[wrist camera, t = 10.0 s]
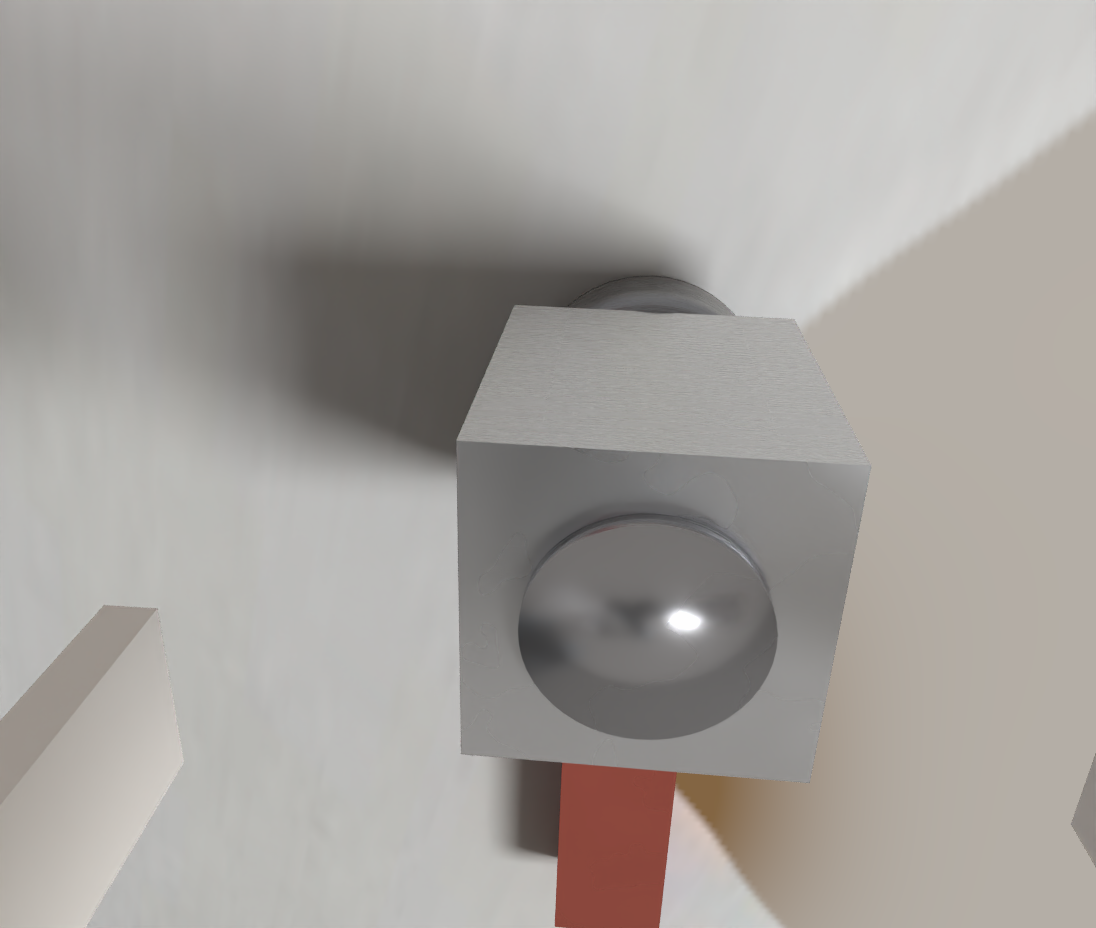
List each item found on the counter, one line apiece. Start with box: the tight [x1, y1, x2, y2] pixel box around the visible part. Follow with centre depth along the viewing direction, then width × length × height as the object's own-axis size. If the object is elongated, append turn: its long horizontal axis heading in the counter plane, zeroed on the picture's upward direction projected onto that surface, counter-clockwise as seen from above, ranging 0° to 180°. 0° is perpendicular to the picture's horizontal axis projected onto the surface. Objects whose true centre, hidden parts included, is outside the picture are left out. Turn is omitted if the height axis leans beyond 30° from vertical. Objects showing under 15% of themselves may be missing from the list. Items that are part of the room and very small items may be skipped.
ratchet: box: [555, 276, 735, 928], centre depth 24 cm, size 6×20×6 cm, turn 179°
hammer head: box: [456, 305, 871, 783], centre depth 18 cm, size 6×6×8 cm
